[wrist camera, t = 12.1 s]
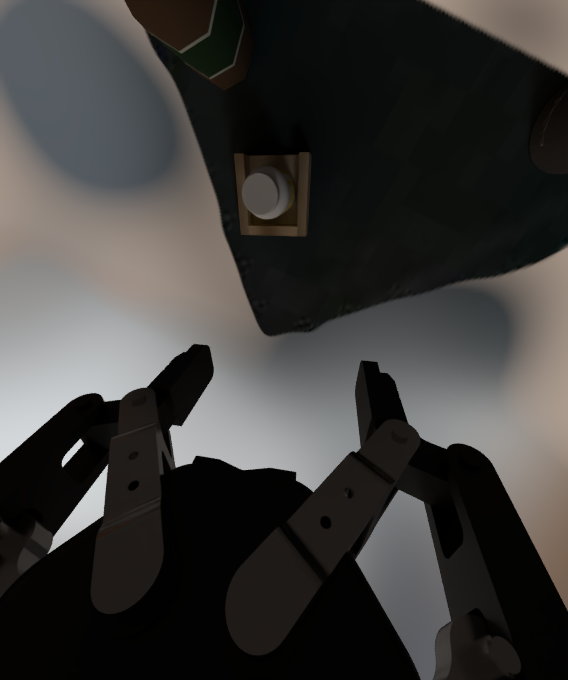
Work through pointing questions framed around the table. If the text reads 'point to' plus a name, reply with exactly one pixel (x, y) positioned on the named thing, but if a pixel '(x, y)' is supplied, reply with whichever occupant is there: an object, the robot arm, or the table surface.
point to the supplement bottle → (268, 192)
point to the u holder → (298, 213)
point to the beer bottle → (201, 35)
